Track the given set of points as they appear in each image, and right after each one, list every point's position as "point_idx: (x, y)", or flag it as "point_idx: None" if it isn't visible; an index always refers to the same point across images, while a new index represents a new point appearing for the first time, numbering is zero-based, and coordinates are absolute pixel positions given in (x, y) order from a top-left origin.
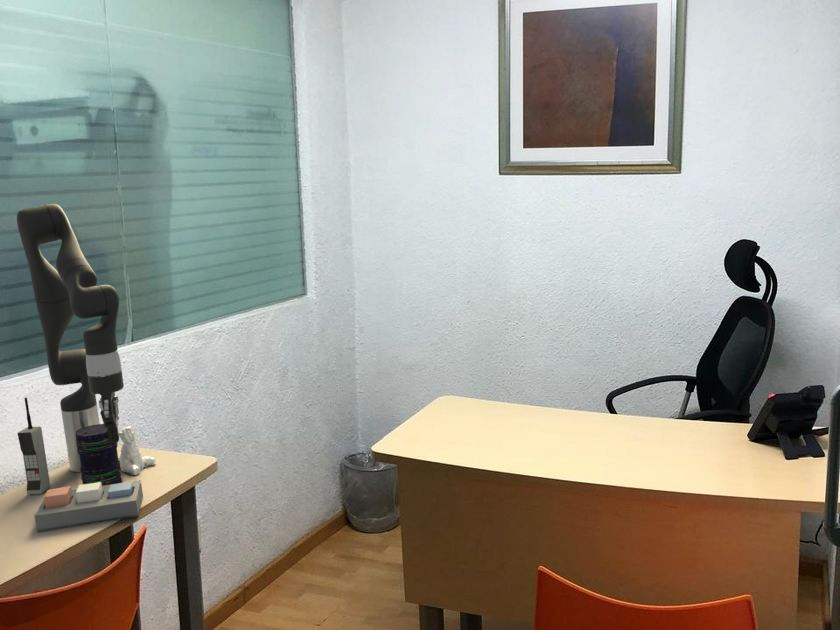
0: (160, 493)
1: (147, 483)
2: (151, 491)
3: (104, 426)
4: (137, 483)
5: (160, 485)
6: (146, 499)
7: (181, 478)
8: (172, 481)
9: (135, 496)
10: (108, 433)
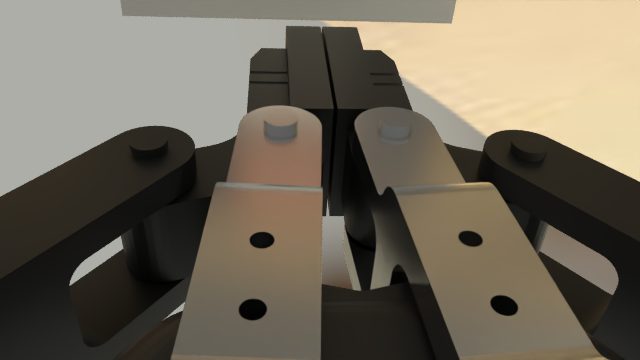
0: (409, 70)
1: (594, 5)
2: (463, 29)
3: (140, 133)
4: (404, 8)
5: (519, 66)
6: None
7: None
8: (536, 113)
9: (187, 9)
10: (289, 78)
